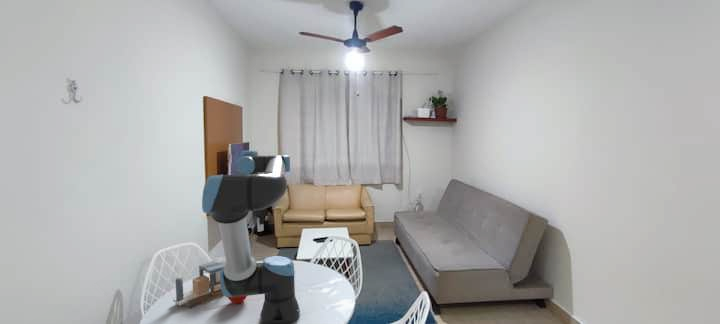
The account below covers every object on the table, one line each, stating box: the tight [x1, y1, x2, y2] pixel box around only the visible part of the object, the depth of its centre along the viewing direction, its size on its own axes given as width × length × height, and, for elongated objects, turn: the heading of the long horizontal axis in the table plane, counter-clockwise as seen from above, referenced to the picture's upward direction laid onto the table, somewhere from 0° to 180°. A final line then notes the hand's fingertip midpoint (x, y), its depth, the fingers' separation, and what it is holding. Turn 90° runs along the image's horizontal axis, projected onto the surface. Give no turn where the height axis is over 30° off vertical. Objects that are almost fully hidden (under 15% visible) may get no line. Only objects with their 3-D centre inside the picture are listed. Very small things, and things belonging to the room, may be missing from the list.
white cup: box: [209, 256, 227, 282], centre depth 160 cm, size 8×8×10 cm
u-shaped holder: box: [172, 274, 210, 306], centre depth 138 cm, size 6×14×10 cm, turn 142°
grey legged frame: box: [183, 261, 224, 309], centre depth 144 cm, size 11×22×13 cm, turn 142°
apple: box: [227, 296, 248, 304], centre depth 137 cm, size 10×10×12 cm
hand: (252, 228), depth 148 cm, fingers open, 13 cm apart
